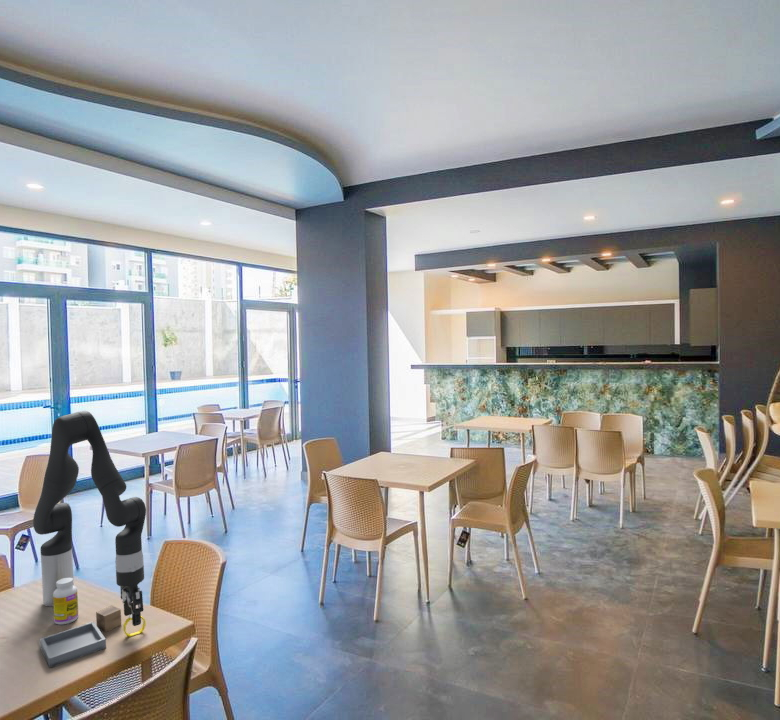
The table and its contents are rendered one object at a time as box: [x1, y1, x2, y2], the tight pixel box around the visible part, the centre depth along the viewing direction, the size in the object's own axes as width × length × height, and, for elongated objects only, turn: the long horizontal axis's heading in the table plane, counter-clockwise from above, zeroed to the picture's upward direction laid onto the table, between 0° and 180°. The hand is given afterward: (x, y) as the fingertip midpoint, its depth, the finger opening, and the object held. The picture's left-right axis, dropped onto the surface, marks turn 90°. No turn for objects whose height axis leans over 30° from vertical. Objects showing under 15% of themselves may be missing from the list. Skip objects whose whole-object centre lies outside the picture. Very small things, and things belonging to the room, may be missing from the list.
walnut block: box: [95, 605, 122, 633], centre depth 169 cm, size 5×5×5 cm
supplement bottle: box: [53, 578, 79, 626], centre depth 174 cm, size 7×7×13 cm
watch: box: [122, 614, 146, 638], centre depth 164 cm, size 6×3×6 cm, turn 127°
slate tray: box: [39, 620, 107, 669], centre depth 157 cm, size 14×14×3 cm
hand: (132, 619), depth 163 cm, fingers open, 8 cm apart
